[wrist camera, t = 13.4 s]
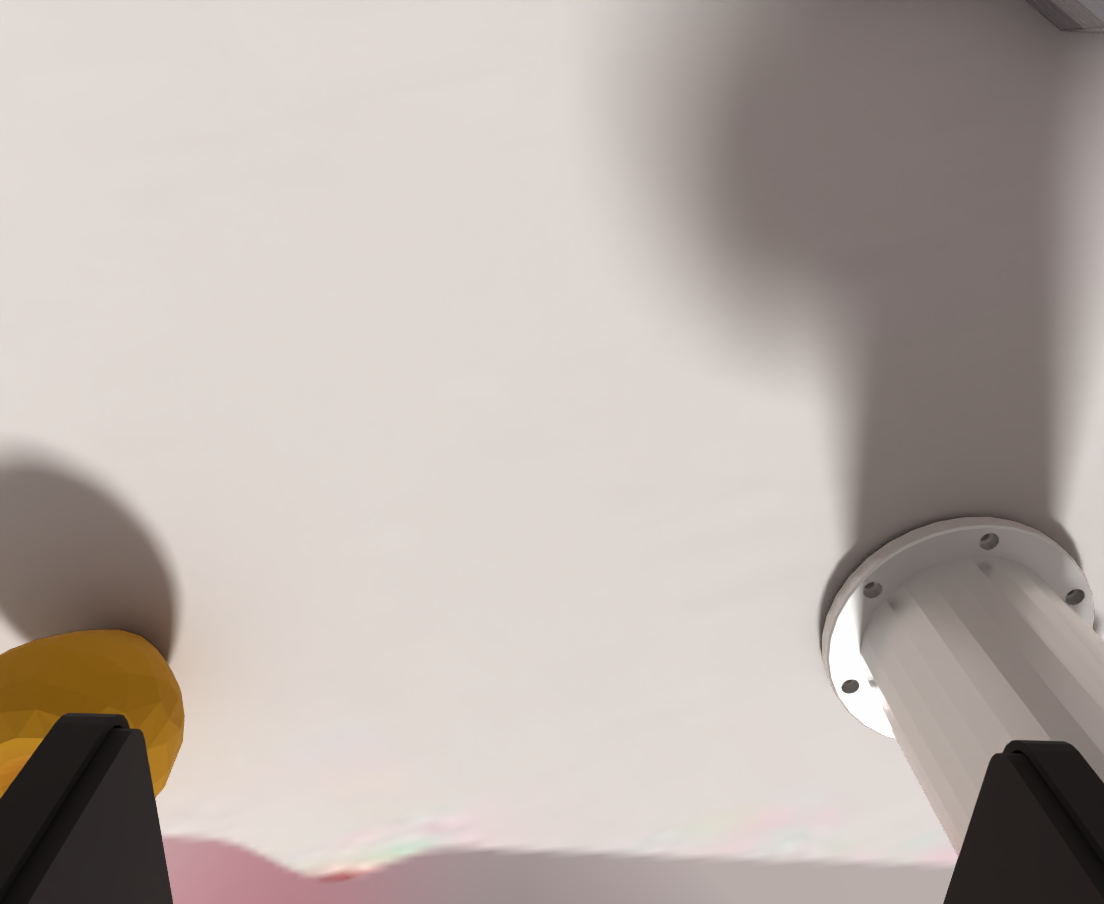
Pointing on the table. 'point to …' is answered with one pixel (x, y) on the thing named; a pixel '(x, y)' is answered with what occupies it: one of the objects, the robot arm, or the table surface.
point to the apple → (88, 694)
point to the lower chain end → (1058, 16)
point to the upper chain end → (1084, 12)
